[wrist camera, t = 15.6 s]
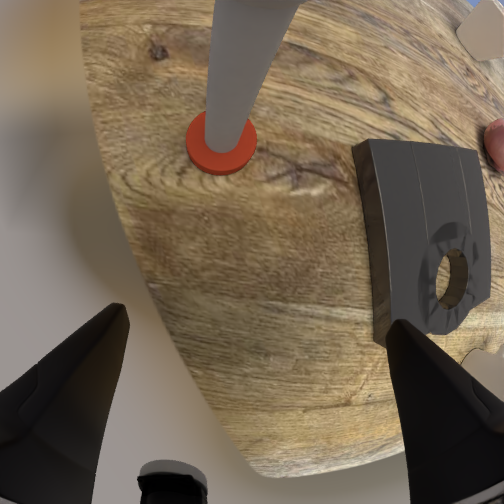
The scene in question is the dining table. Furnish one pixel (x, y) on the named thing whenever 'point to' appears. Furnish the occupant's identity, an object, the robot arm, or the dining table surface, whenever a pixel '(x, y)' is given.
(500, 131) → the onion
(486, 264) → the sink board
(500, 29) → the cup
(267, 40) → the stopper
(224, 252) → the dining table surface
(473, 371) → the mug
